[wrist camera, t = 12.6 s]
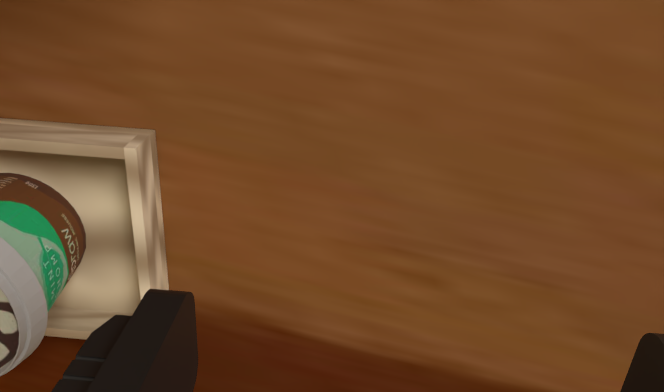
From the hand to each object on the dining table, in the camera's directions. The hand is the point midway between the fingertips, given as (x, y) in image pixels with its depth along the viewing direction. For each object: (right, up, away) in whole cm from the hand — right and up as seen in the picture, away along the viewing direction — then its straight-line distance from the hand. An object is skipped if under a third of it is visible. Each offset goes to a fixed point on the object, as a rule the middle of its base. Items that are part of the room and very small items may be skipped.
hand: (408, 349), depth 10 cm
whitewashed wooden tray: (-22, +1, +33) cm, 39 cm away
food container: (-21, +1, +32) cm, 38 cm away
